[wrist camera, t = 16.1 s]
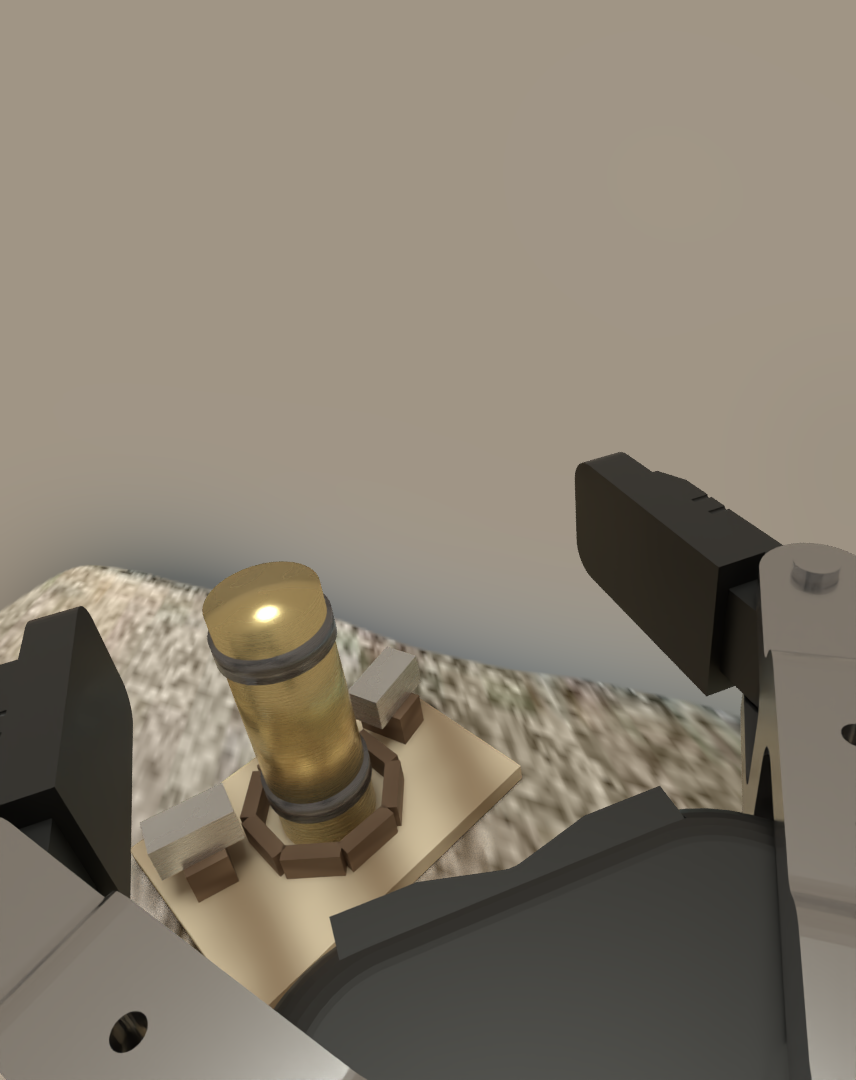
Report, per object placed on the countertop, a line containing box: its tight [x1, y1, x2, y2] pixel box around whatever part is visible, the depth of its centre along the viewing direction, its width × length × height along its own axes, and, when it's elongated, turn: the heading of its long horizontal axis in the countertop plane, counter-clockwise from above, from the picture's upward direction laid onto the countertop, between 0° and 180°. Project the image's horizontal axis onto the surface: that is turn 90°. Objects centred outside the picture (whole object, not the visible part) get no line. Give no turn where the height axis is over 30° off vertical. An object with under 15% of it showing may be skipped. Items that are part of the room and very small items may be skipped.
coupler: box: [202, 562, 376, 844], centre depth 35 cm, size 5×5×14 cm
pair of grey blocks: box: [140, 647, 421, 881], centre depth 38 cm, size 16×3×2 cm, turn 134°
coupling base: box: [131, 693, 522, 1009], centre depth 38 cm, size 17×12×3 cm
